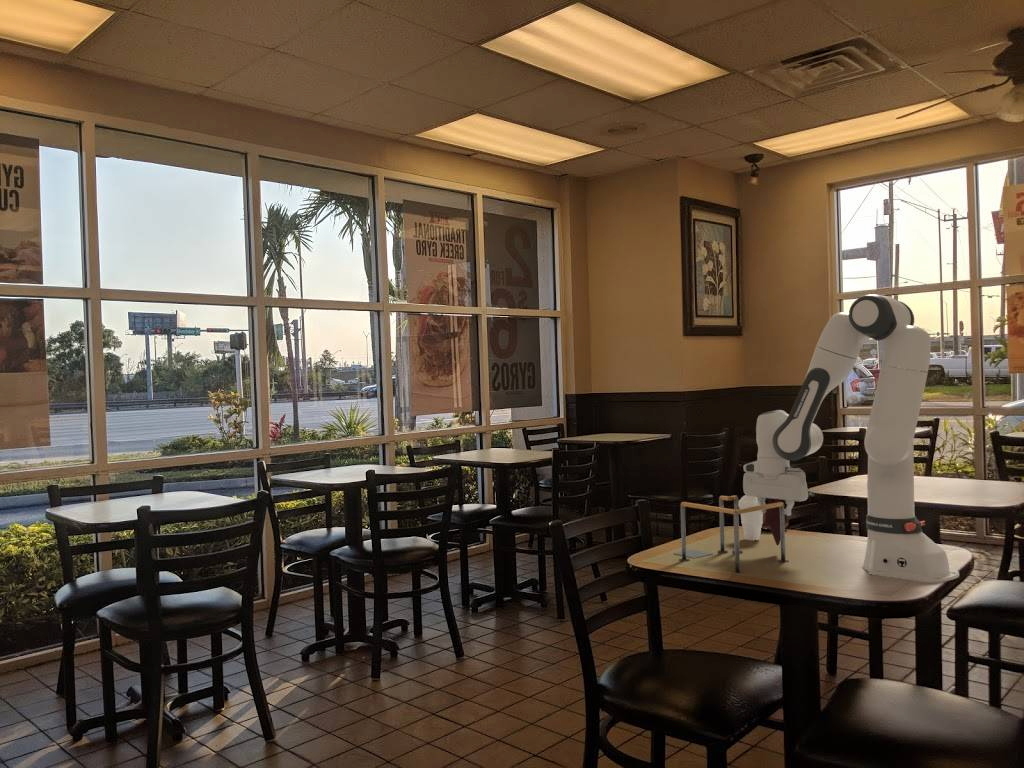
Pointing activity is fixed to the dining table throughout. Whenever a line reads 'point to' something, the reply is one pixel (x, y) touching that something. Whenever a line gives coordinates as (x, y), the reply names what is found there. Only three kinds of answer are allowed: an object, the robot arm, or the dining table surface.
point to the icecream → (774, 519)
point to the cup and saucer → (765, 525)
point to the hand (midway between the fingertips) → (776, 514)
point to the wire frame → (736, 525)
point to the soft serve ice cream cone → (751, 518)
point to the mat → (694, 553)
